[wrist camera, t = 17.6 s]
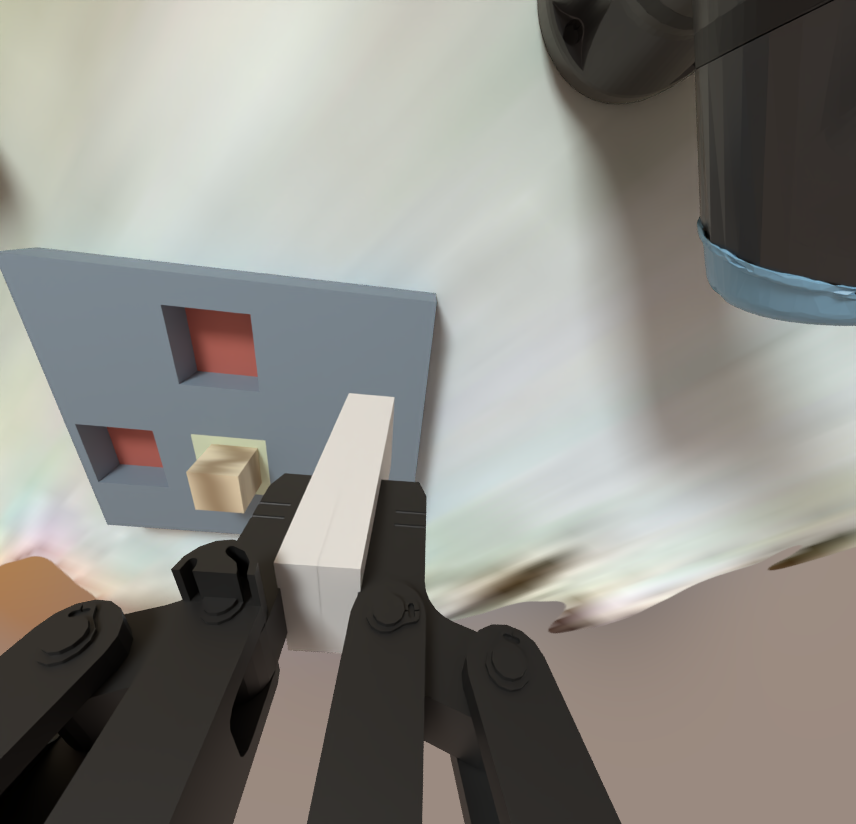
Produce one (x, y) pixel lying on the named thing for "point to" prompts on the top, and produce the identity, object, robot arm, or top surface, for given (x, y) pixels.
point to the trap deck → (212, 371)
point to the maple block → (225, 478)
